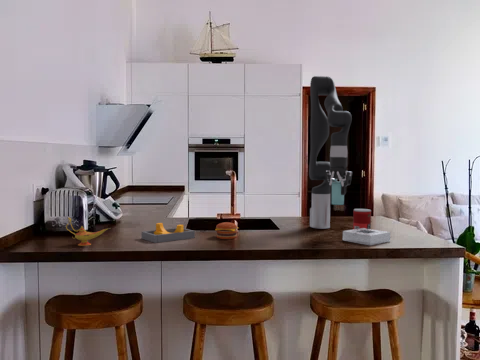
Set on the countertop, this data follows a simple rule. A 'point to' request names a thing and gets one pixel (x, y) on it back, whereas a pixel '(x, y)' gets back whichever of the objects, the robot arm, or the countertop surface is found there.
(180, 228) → the pipe clamp
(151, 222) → the countertop surface
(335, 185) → the teal cylinder
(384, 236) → the housing
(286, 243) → the countertop surface
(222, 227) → the hamburger
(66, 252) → the countertop surface
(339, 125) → the robot arm
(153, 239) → the tray
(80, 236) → the magic lamp
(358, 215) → the canned food
